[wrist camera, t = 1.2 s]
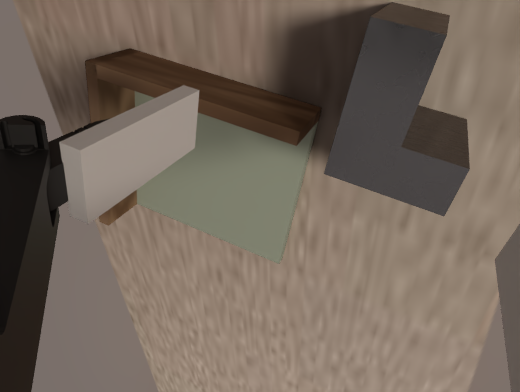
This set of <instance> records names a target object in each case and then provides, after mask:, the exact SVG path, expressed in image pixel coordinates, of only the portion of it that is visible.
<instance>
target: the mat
mask: <svg viewBox="0 0 520 392" xmlns="http://www.w3.org/2000/svg"><path fill="white" fill-rule="evenodd" d="M152 99H154V97H151V96H148V95H145V94H142V93H139V92H136V91H135V107H137V106H139V105H141V104H144V103H146V102H148V101H150V100H152ZM317 124H318V122H317V123H316V124H315V125H314V126H313V128H312V129H311V130H310V131H309V132H308V133H307V135H306V136H305V137H304V138H303V139H302V140H301V142H300V143H299V144H298V145H297V146H295V145H292V144H289V143H286V142H283V141H280V140H277V139H274V138H271V137H268V136H265V135H262V134H259V133H256V132H254V131H251V130H248V129H245V128H242V127H239V126H236V125H233V124H230V123H227V122H224V121H221V120H218V119H215V118H212V117H210V116H207V115H204V114H201V113H198V115H197V127H196V140H195V148H194V149H193V150H191V151H190V152H189V153H187V154H186V155H184V156H183V157H182V158H180V159H179V160H177V161H176V162H175V163H173V164H172V165H170V166H169V167H168V168H166V169H165V170H163V171H162V172H161V173H159V174H158V175H156V176H155V177H154V178H152V179H151V180H149V181H148V182H147V183H145V184H144V185H142V186H141V187H140V188H138V189H137V204H139V205H141V206H144V207H146V208H148V209H151V210H153V211H156V212H158V213H160V214H163V215H165V216H167V217H170V218H172V219H174V220H177V221H179V222H181V223H184V224H186V225H189V226H191V227H193V228H196V229H198V230H200V231H203V232H205V233H207V234H210V235H212V236H214V237H217V238H219V239H222V240H224V241H226V242H229V243H231V244H233V245H236V246H238V247H240V248H243V249H245V250H247V251H250V252H252V253H255V254H257V255H259V256H262V257H264V258H266V259H269V260H271V261H273V262H276V263H278V264H279V263H280V261H281V260H282V257H283V254H284V250H285V246H286V242H287V238H288V235H289V231H290V227H291V223H292V219H293V216H294V212H295V208H296V204H297V200H298V197H299V193H300V189H301V185H302V181H303V178H304V174H305V170H306V166H307V162H308V159H309V155H310V151H311V147H312V143H313V140H314V136H315V132H316V128H317Z"/></svg>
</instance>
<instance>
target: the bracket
mask: <svg viewBox="0 0 520 392" xmlns="http://www.w3.org/2000/svg"><path fill="white" fill-rule="evenodd" d="M449 17H450V15H446V14H442V13H437V12H433V11H429V10H424V9H420V8H415V7H411V6H407V5H402V4H398V3H394V2H392V3H391V4H389V5H387V6H386V7H384V8H383V9H381V10H380V11H378V12H377V13H375V14H374V15H372V16H371V17H370V20H369V23H368V27H367V30H366V33H365V37H364V40H363V44H362V47H361V50H360V54H359V57H358V60H357V64H356V67H355V71H354V74H353V77H352V81H351V84H350V87H349V91H348V94H347V98H346V101H345V104H344V108H343V111H342V114H341V118H340V121H339V125H338V128H337V131H336V135H335V138H334V141H333V145H332V148H331V152H330V155H329V158H328V162H327V165H326V168H325V172H324V174H326V175H329V176H332V177H334V178H337V179H340V180H343V181H346V182H348V183H351V184H354V185H357V186H360V187H363V188H365V189H368V190H371V191H374V192H377V193H380V194H382V195H385V196H388V197H391V198H394V199H397V200H399V201H402V202H405V203H408V204H411V205H414V206H416V207H419V208H422V209H425V210H428V211H431V212H433V213H436V214H439V215H442V216H445V214H446V212H447V210H448V208H449V206H450V205H451V203H452V201H453V199H454V197H455V195H456V193H457V192H458V190H459V188H460V186H461V184H462V182H463V180H464V179H465V177H466V175H467V173H468V171H469V169H470V167H469V148H468V130H467V119H464V118H460V117H457V116H453V115H450V114H447V113H443V112H440V111H436V110H433V109H429V108H426V107H422V106H419V105H418V104H419V102H420V99H421V97H422V95H423V92H424V90H425V87H426V85H427V82H428V80H429V77H430V75H431V72H432V70H433V68H434V65H435V63H436V60H437V58H438V55H439V53H440V50H441V48H442V46H443V43H444V41H445V38H446V36H447V30H448V24H449Z"/></svg>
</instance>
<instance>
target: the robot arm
mask: <svg viewBox="0 0 520 392" xmlns="http://www.w3.org/2000/svg"><path fill="white" fill-rule="evenodd" d="M198 102H199V90H197V89H194V88H191V87H188V86H185V85H183V86H181V87H179V88H176V89H174V90H172V91H170V92H168V93H165V94H163V95H161V96H159V97H157V98H154V99H152V100H150V101H148V102H146V103H144V104H141V105H139V106H137V107H135V108H133V109H130V110H128V111H126V112H124V113H122V114H119V115H117V116H115V117H113V118H111V119H105V120H100V121H95V122H93V123H90V124H88V125H86V126H84V128H82V127H81V128H79V129H77V130H75V132H70V133H68V134H66V135H63V136H61V137H59V138H57V139H55V140H52V141H50V142H48V139H47V133H46V126H45V122H44V121H43V120H42V119H40V118H38V117H34V116H27V115H18V116H17V115H16V116H10V117H5V118H3V119H0V392H31V389H32V383H33V377H34V371H35V365H36V359H37V352H38V346H39V340H40V334H41V327H42V321H43V315H44V309H45V303H46V297H47V290H48V284H49V278H50V272H51V265H52V259H53V254H54V247H55V241H56V235H57V229H58V223H59V216H60V215H59V209H58V207H59V206H61V205H62V204H64V203H66V202H67V201H68V208H69V215H70V216H71V217H73V218H75V219H78V220H80V221H82V222H84V223H86V224H89V223H91V222H92V221H94V220H95V219H96V218H98V217H99V216H101V215H102V214H103V213H105V212H106V211H108V210H109V209H110V208H112V207H113V206H114V205H116V204H117V203H119V202H120V201H121V200H123V199H124V198H126V197H127V196H128V195H130V194H131V193H133V192H134V191H135V190H137V189H138V188H140V187H141V186H142V185H144V184H145V183H147V182H148V181H149V180H151V179H152V178H154V177H155V176H156V175H158V174H159V173H161V172H162V171H163V170H165V169H166V168H168V167H169V166H170V165H172V164H173V163H175V162H176V161H177V160H179V159H180V158H182V157H183V156H184V155H186V154H187V153H189V152H190V151H191V150H193V149H194V148H195V140H196V127H197V115H198ZM495 265H496V273H497V281H498V289H499V297H500V305H501V313H502V321H503V329H504V337H505V345H506V353H507V361H508V370H509V377H510V385H511V392H520V224H519V226H518V227H517V229H516V230H515V232H514V233H513V234H512V236H511V237H510V239H509V240H508V242H507V243H506V245H505V246H504V247H503V249H502V250H501V252H500V253H499V255H498V256H497V257H496V259H495Z"/></svg>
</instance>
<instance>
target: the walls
mask: <svg viewBox="0 0 520 392" xmlns="http://www.w3.org/2000/svg"><path fill="white" fill-rule="evenodd" d="M85 66H86V77H87V88H88V99H89V110H90V121H91V123H93V122H95V121H100V120H105V119H111V118H113V117H115V116H117V115H119V114H122V113H124V112H126V111H128V110H130V109H133V108H135V91H136V92H139V93H142V94H145V95H148V96H151V97H154V98H157V97H159V96H161V95H163V94H165V93H168V92H170V91H172V90H174V89H176V88H179V87H181V86H183V85H185V86H188V87H191V88H194V89H197V90H199V102H198V113H201V114H204V115H207V116H210V117H212V118H215V119H218V120H221V121H224V122H227V123H230V124H233V125H236V126H239V127H242V128H245V129H248V130H251V131H254V132H256V133H259V134H262V135H265V136H268V137H271V138H274V139H277V140H280V141H283V142H286V143H289V144H292V145H295V146H297V145H298V144H299V143H300V142H301V140H302V139H303V138H304V137H305V136H306V135H307V133H308V132H309V131H310V130H311V129H312V128H313V126H314V125H315V124H316V123H317V122H318V121H319V117H320V113H321V109H322V108H321V107H317V106H314V105H311V104H308V103H305V102H301V101H298V100H295V99H292V98H288V97H285V96H282V95H279V94H275V93H272V92H269V91H266V90H263V89H259V88H256V87H253V86H250V85H246V84H243V83H240V82H237V81H234V80H230V79H227V78H224V77H221V76H217V75H214V74H211V73H208V72H205V71H201V70H198V69H195V68H192V67H188V66H185V65H182V64H179V63H176V62H172V61H169V60H166V59H163V58H159V57H156V56H153V55H150V54H146V53H143V52H140V51H137V50H134V49H127V50H123V51H119V52H116V53H112V54H108V55H105V56H101V57H97V58H94V59H90V60H86V61H85ZM136 204H137V190H135V191H134V192H133V193H131V194H130V195H128V196H127V197H126V198H124V199H123V200H121V201H120V202H119V203H117V204H116V205H114V206H113V207H112V208H110V209H109V210H108V211H106V212H105V213H103V214H102V215H101V216H99V219H100V222H102V223H104V224H106V225H108V226H109V225H110V224H111V223H112V222H114V221H115V220H116V219H118V218H119V217H120V216H122V215H123V214H124V213H126V212H127V211H128V210H129V209H131V208H132V207H133V206H135V205H136Z"/></svg>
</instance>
